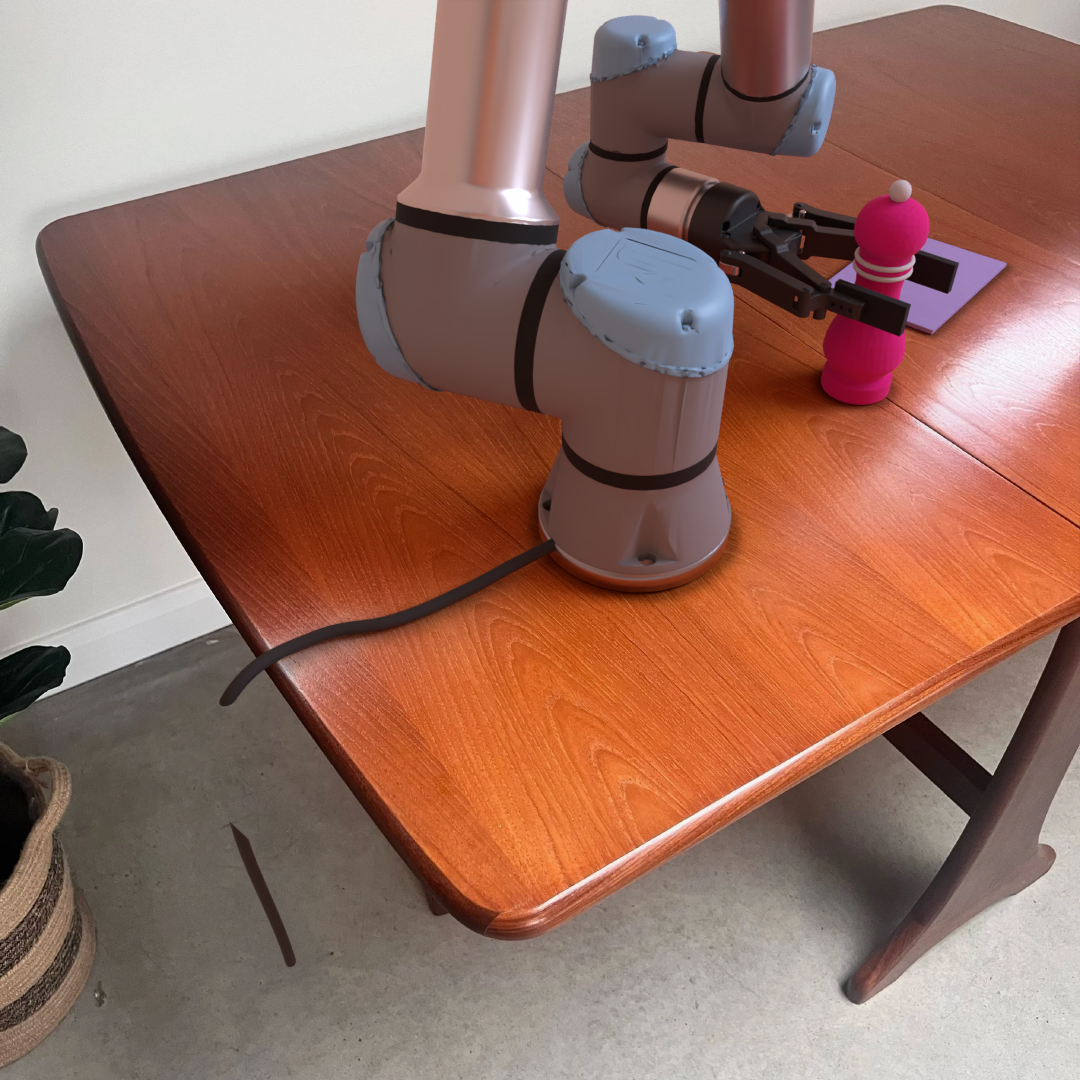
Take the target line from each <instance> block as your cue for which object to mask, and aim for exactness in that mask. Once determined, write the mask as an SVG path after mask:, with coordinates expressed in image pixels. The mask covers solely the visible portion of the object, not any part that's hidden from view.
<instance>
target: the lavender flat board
mask: <svg viewBox="0 0 1080 1080" xmlns="http://www.w3.org/2000/svg"><path fill="white" fill-rule="evenodd" d="M920 250H922V251H925V252H928V253H931V254H934V255H937V256H940V257H943V258H946V259H949V260H952V261H955V262H958V263H959V265H958V269H957V272H956V276H955V279H954V283H953V286H952V290H951V291H950V292H949V293H948V294H946V293H943V292H940V291H937V290H934V289H931V288H928V287H925V286H923V285H920V284H917V283H914V282H911V281H908V280H905V281H904V283H903V286H902V288H901V294H900V299H899V300H901V301H903V302H906V303H909V304H911V307H910V310H909V314H908V318H907V322H906V326H907V327H909V328H912V329H914V330H917V331H920V332H923V333H926V334H928V335H933V334H935V333H936V332H937V330H938V329H940V328H941V327H942V326H944V324H945V323H946V322H947V321H948V320H949V319H950V318H951V317H953V316H954V315H955V314H956V313H957V312H958V311H959V310H961V309H962V307H964V306H965V305H966V304H967V303H968V302H969V301H970V300H971V299H972V298H973V297H974V296H976V294H978V293H979V292H980V291H981V290H982V289H984V287H985V286H987V285H988V283H990V282H991V281H992V280H993V279H994V278H995V277H997V276H998V275H999V273H1001V272H1002V271H1003V270H1004V269H1005V268H1006V267H1007V264H1008V263H1007V262H1004V261H1001V260H999V259H995V258H992V257H990V256H986V255H984V254H980V253H976V252H974V251H970V250H968V249H965V248H962V247H959V246H955V245H952V244H948V243H946V242H943V241H939V240H936V239H933V238H930V237H928V238H927V241H926V243H925V245H924V246H923V247H922V248H921V249H920ZM839 279H842V280H845V281H848V282H850V283H853V284H855V280H856V271H855V270H854V268H853V261H851V262H850V263H849V264H848V265H846V266H844V268H842V269H841V270H840V271H839V272H837V273H836V274H835V275H834V276H832V277H830V279H827V280H828V281H830V282H831V283H832V286H831V288H834V286H835V282H836V281H837V280H839Z"/></svg>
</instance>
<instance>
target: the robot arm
mask: <svg viewBox="0 0 1080 1080" xmlns="http://www.w3.org/2000/svg"><path fill="white" fill-rule="evenodd" d="M568 3H569V0H437V1H436V11H435V22H434V33H433V42H432V43H433V44H432V54H431V63H430V64H431V65H430V76H429V85H428V97H427V107H426V116H425V127H424V129H425V130H424V138H423V139H424V140H423V149H422V159H421V171H420V173H419V175H418V176H417V178H416V179H415V180H413V181H412V182H411V183H410V184H409V185H408V186H407V187H405V188H404V189H403V190H402V191H400V192H399V193H398V194H397V195H396V204H395V216H392V217H390V218H386V219H384V220H382V221H380V222H379V223H377V224H376V226H374V227H373V229H372V230H371V232H370V233H369V234H368V235H367V238H366V240H365V242H364V243H365V249H366V251H364V252H362V253H361V254H360V256H359V260H358V264H357V270H356V278H355V307H356V316H357V322H358V325H359V326H358V327H359V329H360V333H361V336H362V340H363V342H364V345H365V346H366V348H367V350H368V352H369V353H370V354H371V355H372V357H373V359H374V361H375V362H376V364H377V366H379V367H380V369H382V370H383V371H385V372H386V373H388V374H389V375H391V376H392V377H395V378H396V379H401V380H404V381H406V382H411V383H414V384H417V385H420V386H422V387H423V388H425V389H427V390H430V391H433V392H437V393H443V392H447V393H452V394H456V395H460V396H464V397H469V398H472V399H477V400H481V401H485V402H489V403H495V404H497V405H498V404H499V405H502V406H506V407H512V408H515V409H520V410H523V411H528V412H533V413H537V414H540V415H546V416H549V417H553V418H557V419H560V420H561V421H560V422H561V445H560V448H559V450H558V453H557V455H556V457H555V460H554V462H553V464H552V466H551V468H550V471H549V474H548V476H547V478H546V481H545V484H544V485H543V488H542V490H541V492H540V495H539V500H538V505H537V506H538V507H537V508H538V510H537V512H538V514H537V515H538V516H537V517H538V533H539V537H540V540H541V543H539V544H538V545H536V546H533V547H532V548H530V549H527V550H526V551H523V552H522V553H520V554H517V555H516V556H514V557H512V558H510V559H508V560H507V561H504V562H502V563H501V564H499V565H497V566H495V567H493V568H491V569H489V570H487V571H486V572H484V573H482V574H481V575H478V576H477V577H475V578H472V579H471V580H469V581H467V582H465V583H463V584H461V585H459V586H457V587H455V588H453V589H451V590H447V591H446V592H444V593H442V594H440V595H438V596H436V597H435V596H434V597H433V598H432V599H429V600H427V601H424V602H422V603H420V604H417V605H415V606H412V607H409V608H407V609H404V610H400V611H397V612H394V613H391V614H387V615H384V616H379V617H375V618H374V617H373V618H367V619H359V620H351V621H344V622H338V623H333V624H329V625H326V626H323V627H320V628H316V629H314V630H312V631H310V632H309V631H308V632H307V633H305V634H302V635H299V636H297V637H295V638H292V639H289V640H287V641H285V642H282V643H280V644H278V645H276V646H274V647H272V648H270V649H268V650H267V651H264V652H263V653H261V654H260V655H259V656H257V657H255V658H254V659H253V660H252V661H251V662H249V663H248V664H247V665H246V666H245V667H244V668H243V669H241V671H239V673H238V674H236V676H235V677H234V678H233V679H232V680H231V682H230V683H229V684H228V686H227V687H226V689H225V690H224V691H223V693H222V695H221V696H220V698H219V702H218V705H219V706H221V707H228V706H231V705H233V704H234V703H236V701H237V700H238V697H239V696H240V695H241V694H242V692H243V691H244V690H245V689H246V688H247V686H249V685H250V683H251V682H252V681H253V680H254V679H255V678H256V677H257V676H258V675H260V674H261V673H262V672H263V671H265V670H266V669H267V668H269V667H270V666H272V665H273V664H276V663H277V662H279V661H281V660H283V659H286V658H287V657H289V656H291V655H294V654H296V653H299V652H301V651H303V650H306V649H308V648H311V647H313V646H316V645H318V644H320V643H324V642H327V641H330V640H332V639H337V638H341V637H346V636H347V637H348V636H353V635H354V636H355V635H362V634H369V633H370V634H371V633H376V632H381V631H386V630H390V629H393V628H397V627H400V626H403V625H406V624H409V623H412V622H414V621H417V620H420V619H423V618H425V617H427V616H430V615H432V614H435V613H436V612H439V611H441V610H443V609H445V608H447V607H449V606H451V605H453V604H456V603H457V602H460V601H462V600H464V599H466V598H468V597H470V596H472V595H474V594H476V593H479V592H480V591H482V590H484V589H486V588H487V587H489V586H491V585H493V584H494V583H496V582H498V581H500V580H502V579H504V578H505V577H507V576H509V575H511V574H513V573H514V572H517V571H519V570H521V569H522V568H524V567H526V566H528V565H530V564H532V563H535V562H537V561H538V560H540V559H542V558H544V557H546V556H548V555H549V556H550V558H551V559H552V561H554V562H555V563H556V564H557V565H558V566H559V567H561V568H562V569H563V570H564V571H566V572H568V574H571V575H572V576H573V577H576V578H577V579H579V580H581V581H584V582H585V583H588V584H591V585H594V586H597V587H599V588H603V589H608V590H612V591H616V592H617V591H618V592H626V593H652V592H659V591H666V590H670V589H674V588H677V587H679V586H683V585H686V584H688V583H690V582H692V581H694V580H696V579H698V578H700V577H702V576H703V575H704V574H706V573H708V572H709V570H711V569H712V568H713V567H714V566H715V565H716V564H717V563H718V562H719V561H720V559H721V558H722V556H723V554H724V553H725V551H726V549H727V545H728V543H729V537H730V531H731V525H732V506H731V503H730V500H729V497H728V494H727V492H726V488H725V487H726V483H725V478H724V477H723V476H722V472H721V468H720V464H719V459H718V455H717V450H718V443H719V436H720V435H719V434H720V429H721V422H722V414H723V408H724V407H723V406H724V400H725V392H726V385H727V379H728V371H729V364H730V360H731V358H732V356H733V353H734V352H733V351H734V349H735V348H734V347H735V342H734V337H735V335H734V334H733V327H734V313H735V295H734V291H733V288H732V284H733V285H737V286H739V287H741V288H743V289H745V290H746V291H749V292H750V293H752V294H755V295H756V296H758V297H760V298H762V299H764V300H765V301H767V302H769V303H771V304H772V305H774V306H777V307H778V308H779V309H782V310H784V311H786V312H787V313H790V314H792V315H793V316H795V317H796V318H799V319H807V318H809V317H810V313H811V312H812V319H813V320H816V321H823V320H825V318H826V316H827V311H829V312H831V313H834V314H836V315H837V314H839V315H842V316H844V317H847V318H850V319H853V320H856V321H859V322H862V323H864V324H867V325H870V326H872V327H875V328H878V329H880V330H883V331H886V332H888V333H891V334H894V335H896V336H899V337H900V336H901V335H902V334H903V333H904V329H906V326H907V325H906V322H907V318H908V314H909V310H910V307H911V304H909V303H906V302H903V301H901V300H898V299H895V298H892V297H889V296H887V295H884V294H881V293H878V292H876V291H873V290H870V289H867V288H864V287H862V286H859V285H856V284H853V283H850V282H848V281H845V280H842V279H839V280H837V281H836V282H835V286H834V288H831V286H832V283H831V282H830V281H828V280H829V279H827V278H826V277H825V276H823V275H822V274H821V273H820V272H818V271H817V270H816V269H814V268H813V267H811V266H810V265H809V264H808V263H806V262H805V261H807V260H809V259H810V258H811V257H816V258H817V257H818V258H823V259H824V258H825V259H833V260H840V261H849V262H853V260H854V259H855V251H856V249H857V248H858V247H859V246H858V244H857V242H856V240H855V237H854V226H855V222H856V219H857V217H856V216H851V215H846V214H842V213H837V212H834V211H829V210H824V209H819V208H817V207H815V206H812V205H810V204H807V203H805V202H801V201H797V202H794V203H793V207H792V212H790V213H789V212H788V213H787V214H785V213H782V212H777V211H776V212H775V211H769V210H765V208H764V207H763V205H762V203H761V201H760V198H759V196H758V194H757V193H756V192H755V191H753V190H752V189H749V188H745V187H742V186H739V185H736V184H733V183H730V182H727V181H720V180H719V179H718V178H716V177H713V176H709V175H706V174H704V173H700V172H696V171H693V170H690V169H687V168H684V167H680V166H677V165H675V164H673V163H670V162H668V161H667V160H666V157H667V150H668V147H669V146H668V145H669V139H670V140H678V141H683V142H690V143H697V144H703V145H704V144H705V145H709V146H717V147H723V148H728V149H735V150H739V151H740V150H741V151H746V152H753V153H759V154H763V155H768V156H771V157H775V156H783V157H784V156H785V157H797V158H810V157H813V156H815V155H816V154H817V153H818V152H819V151H820V150H821V149H822V146H823V143H824V141H825V138H826V135H827V132H828V129H829V125H830V121H831V117H832V113H833V108H834V103H835V97H836V90H837V89H836V88H837V81H836V77H835V73H834V72H833V70H831V69H829V68H825V67H821V66H818V65H817V64H814V63H811V60H812V51H813V36H814V22H815V21H814V19H815V4H816V0H718V1H717V3H718V25H719V43H720V44H719V49H720V54H721V55H716V54H706V53H699V52H700V51H691V50H683V49H678V42H677V33H676V30H675V27H674V26H673V24H672V23H671V22H669V21H667V20H666V19H658V18H657V17H656V16H652V15H640V14H639V15H638V14H635V15H623V16H618V17H613V18H611V19H608V20H607V21H604V23H603V24H601V25H600V26H599V27H598V29H596V31H595V33H594V37H593V47H592V57H591V71H590V73H589V82H590V95H589V96H590V97H589V98H590V99H589V100H590V102H589V103H590V104H589V107H590V111H589V115H590V117H589V140H587V141H585V142H583V143H581V144H580V145H578V147H577V148H575V150H574V151H573V152H572V154H571V155H570V157H569V159H568V162H567V171H566V173H565V174H564V175H563V183H562V187H563V188H562V191H563V196H564V199H565V203H566V204H567V206H568V207H569V208H570V209H571V211H572V212H574V213H575V214H577V215H579V216H581V217H583V218H586V219H588V220H590V221H591V222H593V223H595V224H597V225H598V226H600V227H603V228H604V229H599V230H595V231H592V232H589V233H587V234H584V235H583V236H580V237H579V238H577V239H576V240H575V241H574V242H573V243H572V244H571V245H570V246H569V247H568V249H567V250H566V249H562V248H558V247H557V244H558V243H557V242H558V234H559V228H560V217H559V216H558V214H557V213H556V211H555V210H554V208H553V207H552V205H551V203H550V202H549V201H548V199H547V197H546V195H545V192H544V190H543V188H544V182H545V181H544V180H545V173H546V167H547V166H546V165H547V159H548V151H549V143H550V136H551V129H552V121H553V114H554V108H555V107H554V106H555V100H556V92H557V83H558V78H559V71H560V63H561V57H562V56H561V55H562V47H563V42H564V34H565V33H564V32H565V26H566V18H567V11H568V5H569V4H568ZM612 229H613V230H612ZM615 230H616V231H615ZM803 237H804V240H803V247H801V245H802V239H803ZM914 256H915V263H914V265H913V272H912V274H911V276H910V277H908V278H907V279H905V280H908V281H911V282H914V283H917V284H920V285H923V286H925V287H928V288H931V289H934V290H937V291H940V292H943V293H946V294H948V293H949V292H950V291H951V290H952V286H953V283H954V279H955V276H956V272H957V269H958V265H959V263H958V262H955V261H952V260H949V259H946V258H943V257H940V256H937V255H934V254H931V253H928V252H925V251H922V250H919V251H918V252H917V253H916V254H914ZM796 297H797V300H796ZM229 825H230V828H231V832H232V835H233V838H234V842H235V844H236V847H237V851H238V853H239V855H240V858H241V860H242V863H243V865H244V868H245V870H246V872H247V875H248V876H249V879H250V882H251V884H252V886H253V889H254V890H255V893H256V896H257V898H258V899H259V902H260V904H261V907H262V908H263V910H264V913H265V915H266V918H267V919H268V922H269V925H270V926H271V929H272V931H273V934H274V936H275V939H276V941H277V944H278V946H279V949H280V952H281V955H282V957H283V961H284V963H285V966H286V967H287V968H292V967H295V966H296V964H297V958H296V955H295V953H294V948H293V946H292V944H291V943H292V942H291V941H290V937H289V935H288V932H287V930H286V927H285V925H284V923H283V920H282V918H281V915H280V913H279V910H278V908H277V906H276V903H275V901H274V899H273V896H272V894H271V892H270V890H269V888H268V884H267V882H266V881H265V878H264V875H263V873H262V871H261V868H260V866H259V863H258V861H257V858H256V856H255V853H254V850H253V847H252V844H251V842H250V839H249V838H248V837H247V836H246V835H244V833H242V831H241V830H239V829H238V828H237V827H236V826H235V825H234V824H233V823H232V822H231V821H229Z"/></svg>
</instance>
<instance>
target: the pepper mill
mask: <svg viewBox="0 0 1080 1080" xmlns="http://www.w3.org/2000/svg"><path fill="white" fill-rule="evenodd" d="M912 191H913V189H912V185H911V183H910V182H909V181H907V180H905V179H898V180H896V181H894V182H893V183H892V184H891V185H890V186H889V189H888V194H883V195H880V196H877V197H874V198H872V199H870V200H869V201H868V202H867V203H866V204H865V205H864V206H863V207H862V208H861V209H860V211H859V213H858V214H857V217H856V218H857V219H856V222H855V226H854V237H855V240H856V242H857V244H858V246H859V247H858V248H857V249H856V251H855V259H854V260H853V261H852V262H853V268H854V270H855V271H856V280H855V284H856V285H859V286H862V287H864V288H867V289H870V290H873V291H876V292H878V293H881V294H884V295H887V296H889V297H892V298H895V299H898V300H899V299H900V294H901V288H902V286H903V283H904V281H905V279H907V278H908V277H910V276H911V274H912V272H913V265H914V263H915V256H914V254H916V253H917V252H918V251H919V250H920V249H921V248H922V247H923V246H924V245H925V243H926V241H927V238H929V234H930V217H929V215H928V212H927V210H926V208H925V207H924V206H923V205H922V204H921V203H920V202H919V201H917V200H916V199H914V198H912V197H911V195H912V193H913V192H912ZM905 329H906V328H905ZM905 329H904V333H903V334H902V335H901V336H900V337H899V336H896V335H894V334H891V333H888V332H886V331H883V330H880V329H878V328H875V327H872V326H870V325H867V324H864V323H862V322H859V321H856V320H853V319H850V318H847V317H844V316H842V315H839V314H836V315H835V316H834V317H833V319H832V320H831V321H830V324H829V326H828V327H827V329H826V331H825V334H824V338H823V342H822V351H823V354H824V357H825V359H826V361H825V362H824V364H823V368H822V373H821V378H820V384H821V385H820V386H821V388H822V390H823V391H824V392H825V393H826V394H827V395H828V396H829V397H831V398H832V399H834V400H837V401H839V402H842V403H845V404H850V405H855V406H866V405H873V404H877V403H878V402H881V401H882V400H884V399H885V398H886V397H887V396H888V394H889V392H890V389H891V385H892V381H893V376H894V375H893V371H895V370H896V369H897V368H898V367H899V366H900V365H901V364H902V362H903V361H904V357H905V353H906V346H907V345H906V343H907V337H906V330H905Z"/></svg>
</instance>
